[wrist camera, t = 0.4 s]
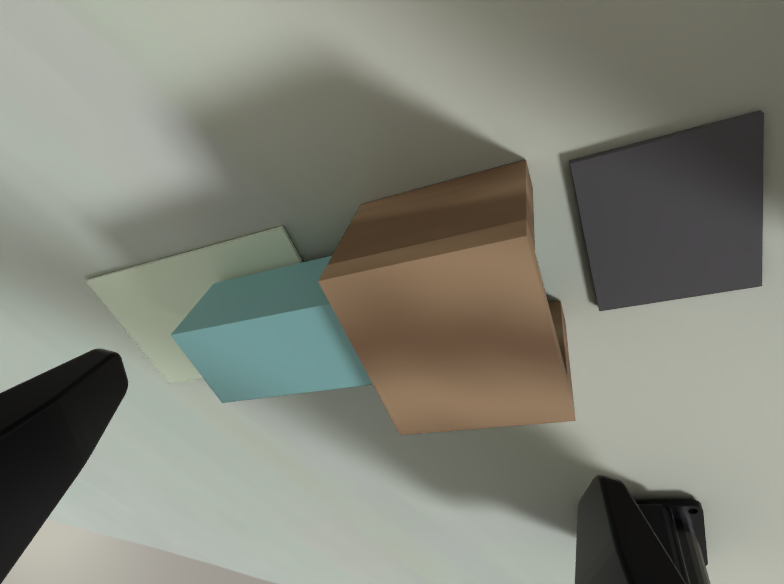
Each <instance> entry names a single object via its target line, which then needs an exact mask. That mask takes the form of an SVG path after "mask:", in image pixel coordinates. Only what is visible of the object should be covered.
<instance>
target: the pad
mask: <svg viewBox="0 0 784 584" xmlns="http://www.w3.org/2000/svg"><path fill="white" fill-rule="evenodd" d="M302 262H303V261H302V259H301V257H300V256H299V254H298V252H297V250H296V248H295V246H294V244H293V243H292V241H291V239H290V237H289V235H288V233H287V231H286V230H285V228H284V226H280V227H277V228H273V229H269V230H266V231H262V232H258V233H255V234H251V235H247V236H244V237H240V238H236V239H233V240H229V241H225V242H222V243H218V244H214V245H211V246H207V247H203V248H200V249H196V250H192V251H189V252H185V253H181V254H178V255H174V256H170V257H167V258H163V259H159V260H156V261H152V262H148V263H145V264H141V265H137V266H134V267H130V268H126V269H123V270H119V271H115V272H112V273H108V274H104V275H101V276H97V277H93V278H90V279H87V280H86V283H87V284H88V285H89V286H90V287H91V289H92V290H93V291H94V292H95V294H96V295H97V296H98V297H99V298H100V300H101V301H102V302H103V303H104V304H105V306H106V307H107V308H108V309H109V311H110V312H111V313H112V314H113V315H114V317H115V318H116V319H117V320H118V322H119V323H120V324H121V325H122V326H123V328H124V329H125V330H126V331H127V333H128V334H129V335H130V336H131V337H132V339H133V340H134V341H135V342H136V344H137V345H138V346H139V347H140V348H141V350H142V351H143V352H144V353H145V354H146V356H147V357H148V358H149V359H150V361H151V362H152V363H153V364H154V365H155V367H156V368H157V369H158V370H159V372H160V373H161V374H162V375H163V376H164V378H165V379H166V380H167V381H168V383H173V382H180V381H187V380H193V379H200V378H203V377H202V376H201V375H200V373H199V372H198V371H197V369H196V368H195V367H194V365H193V364H192V363H191V362H190V360H189V359H188V358H187V356H186V355H185V354H184V352H183V351H182V350H181V348H180V347H179V346H178V345H177V343H176V342H175V341H174V339H173V338H172V337H171V334H172V332H173V331H174V330H175V329H176V328H177V327H178V325H179V324H180V323H181V322H182V321H183V319H184V318H185V317H186V316H187V315H188V313H189V312H190V311H191V310H192V309H193V307H194V306H195V305H196V304H197V303H198V302H199V300H200V299H201V298H202V297H203V296H204V294H205V293H206V292H207V291H208V290H209V288H210V287H211V286H212V285H213V284H214V283H218V282H222V281H226V280H231V279H235V278H239V277H243V276H247V275H252V274H256V273H260V272H264V271H269V270H273V269H277V268H281V267H285V266H290V265H294V264H298V263H302Z"/></svg>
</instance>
